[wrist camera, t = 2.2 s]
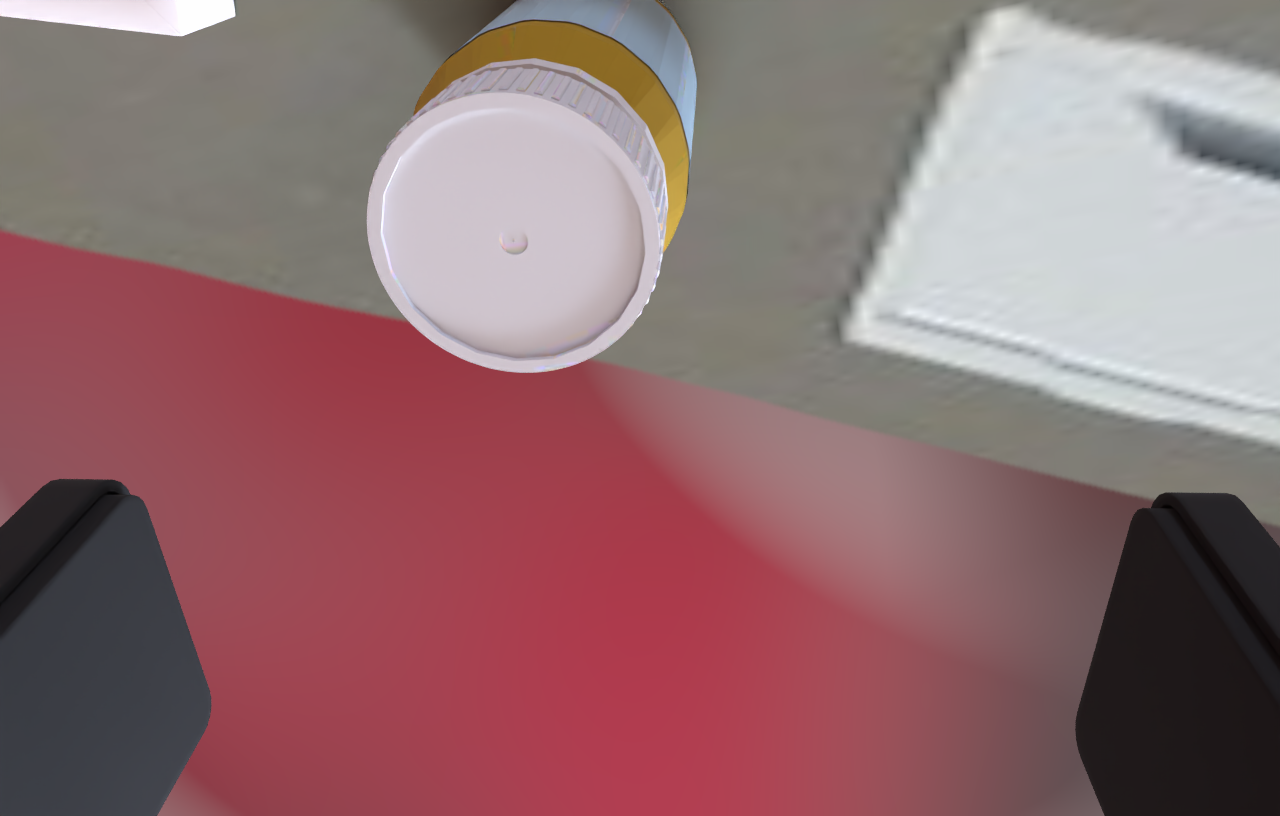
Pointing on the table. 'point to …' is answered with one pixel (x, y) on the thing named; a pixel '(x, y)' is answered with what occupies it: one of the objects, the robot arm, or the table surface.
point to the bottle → (539, 183)
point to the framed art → (125, 13)
